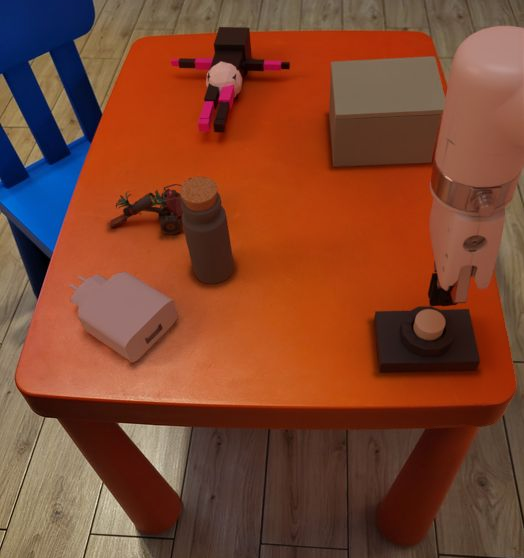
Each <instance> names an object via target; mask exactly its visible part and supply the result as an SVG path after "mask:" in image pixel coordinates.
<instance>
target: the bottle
mask: <svg viewBox="0 0 524 558" xmlns="http://www.w3.org/2000/svg"><path fill="white" fill-rule="evenodd" d="M190 178H191V179H189V178H188V179H189V180H188V179H187V180H185V181H186V182H185V181H184V182H183V183H182V184H181V185H182V186H180V188H179V193H180V195H181V197H182V199H181V207H182V211H183V213H182V215H181V225H182V227H183V234H184V237H185V241H186V245H187V249H188V253H189V258H190V261H191V267H192V270H193V273H194V275H195V277H196V279H198V280H199V281H200V282H202V283H204V284H208V285H209V284H210V285H213V284H215V285H216V284H220V283H223V282H225V281H226V280H227V279H228V278H230V277H231V275H232V274H233V272H234V268H235V267H234V258H233V252H232V251H233V250H232V244H231V237H230V231H229V224H228V217H227V213H226V210H225V207H224V206H223V205H222V197H221V194H220V193H219V192H218V184H217V182H216V181H215V180H214V179H212V178H210V177H207V176H195V177H190Z"/></svg>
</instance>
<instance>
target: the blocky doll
mask: <svg viewBox="0 0 524 558" xmlns="http://www.w3.org/2000/svg"><path fill="white" fill-rule="evenodd" d="M251 44H252V42H251V31H250V27H245V26H244V27H241V26H240V27H239V26H238V27H237V26H219V27H218V30H217V33H216V35H215V39H214V42H213V49H214V55H213V57H196V58H188V57H187V58H185V57H183V58H182V57H179V58H171V59H170V65H171V67H178V68H179V69H195V70H198V71H207V73H206V78H205V79H206V80H205V87H206V91H205V95H204V98H203V100H204V101H203V102H204V103H203V106H202V109H201V111H200V115H199V119H198V122H197V127H198V132H202V133H210V132H211V128H212V127H211V125H213V132H214V133H221V134H222V133H224V134H225V132H226V127H227V123H228V118H229V114H230V111H231V110H232V107H233V103H234V100H238V98H239V96H240V95H239V94H240V93H241V91H242V85H243V80H244V75H248V72H264V71H269V72H270V71H271V72H273V71H274V72H281V71H282V70H290V69H291V63H290V61H282V60H267V59H266V60H265V59H261V58H252V45H251ZM215 110H216V114H215V118H214V120H213V116H214V113H215ZM212 120H213V123H212Z"/></svg>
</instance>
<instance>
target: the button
mask: <svg viewBox="0 0 524 558" xmlns="http://www.w3.org/2000/svg"><path fill="white" fill-rule="evenodd" d="M444 327H445V318H444V316H443V315H442V314H441V313H440V312H438V311H436V310H432V309H426V310H422V311H420V312H419V313H418V314H417V315H416V318H415V322H414V326H413V329H414V332H415V334H416V335H417V336H418V337H419V338H421V339H423V340H426V341H433V340H436V339H438V338H439V337H440V336H441V335H442V333H443V330H444Z"/></svg>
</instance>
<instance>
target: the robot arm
mask: <svg viewBox="0 0 524 558" xmlns="http://www.w3.org/2000/svg"><path fill="white" fill-rule="evenodd" d="M438 132H439V133H438V136H437V141H436V142H437V143H436V148H435V154H434V160H433V165H432V170H431V175H430V181H429V191H430V194H431V196H432V198H433V199H432V203H431V208H430V215H429V223H428V225H429V226H428V228H429V229H428V230H429V237H430V242H431V249H432V254H433V259H434V260H433V272H432V273H431V277H430V282H429V286H428V291H427V297H428V303H429V306H432V307H451V306H457V305H458V304H466V303H467V300H468V296H469V289H470V285H471V279H472V277H473V279H474V283H475V285H476V288H477V291H479V290H480V291H481V290H487V288H489V286H490V283H491V281H492V277H493V274H494V271H495V266H496V263H497V259H498V256H499V252H500V248H501V243H502V237H503V233H504V227H505V218H506V217H505V216H506V207H508V205H510V203H511V202H512V200H513V198H514V195H515V192H516V189H517V186H518V183H519V180H520V177H521V174H522V171H523V169H524V27H521V26H516V25H515V26H514V25H496V26H495V25H494V26H490V27H485V28H483V29H480V30H478V31H476V32H473V33H472V34H470V35H469V36H467V37H466V38H465V39H464V40H463V41H462V42H461V43H460V45H459V46H458V48H457V49H456V51H455V52H454V56H453V59H452V61H451V66H450V71H449V76H448V82H447V88H446V94H445V104H444V110H443V114H442V115H441V120H440V125H439V131H438Z"/></svg>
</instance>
